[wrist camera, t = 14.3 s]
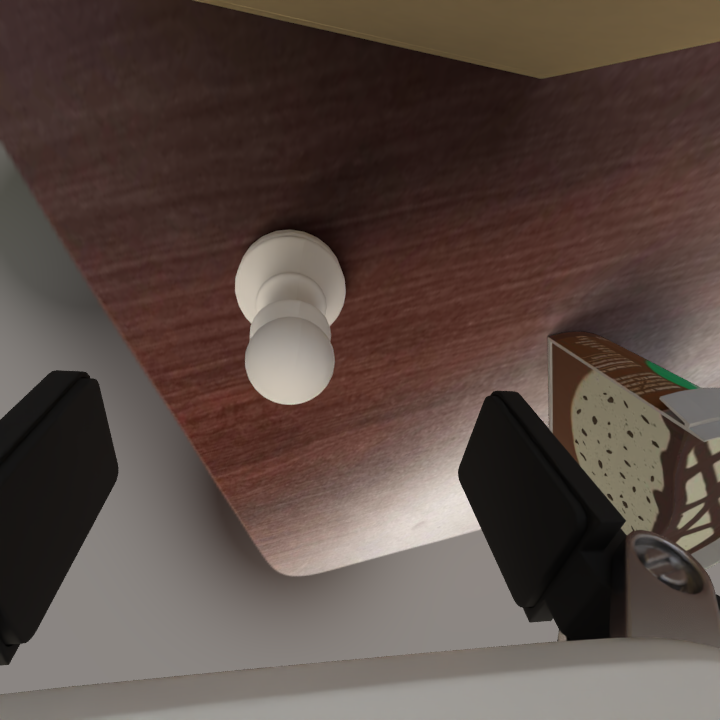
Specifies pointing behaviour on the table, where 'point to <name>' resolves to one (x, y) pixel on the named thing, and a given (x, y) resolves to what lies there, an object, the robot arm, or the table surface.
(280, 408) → the table surface
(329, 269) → the chess pawn
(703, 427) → the food container
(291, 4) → the light wooden open box
